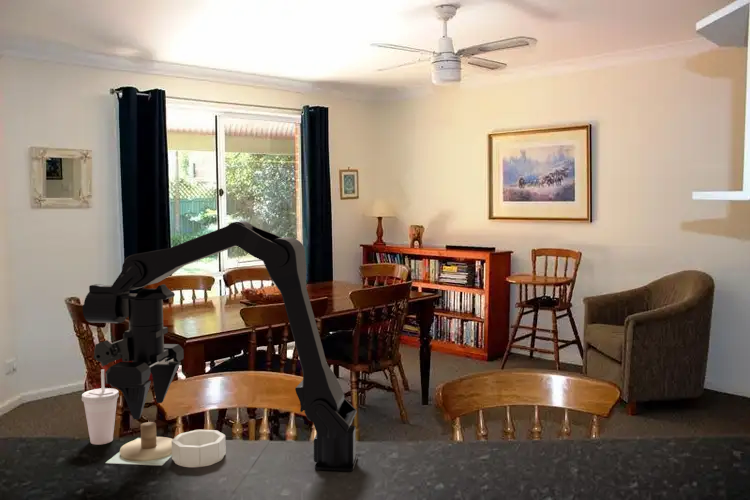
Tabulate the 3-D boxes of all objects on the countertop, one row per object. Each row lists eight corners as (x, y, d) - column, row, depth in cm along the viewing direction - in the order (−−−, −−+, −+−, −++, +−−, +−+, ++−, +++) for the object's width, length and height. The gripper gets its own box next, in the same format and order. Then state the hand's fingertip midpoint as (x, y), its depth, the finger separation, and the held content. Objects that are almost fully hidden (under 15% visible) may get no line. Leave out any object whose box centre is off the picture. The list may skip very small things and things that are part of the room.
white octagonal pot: (230, 452, 118) (230, 430, 117) (214, 471, 109) (214, 447, 109) (185, 450, 118) (184, 429, 118) (165, 469, 110) (165, 446, 110)
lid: (185, 441, 121) (184, 416, 121) (163, 462, 112) (162, 435, 111) (135, 440, 122) (135, 414, 122) (109, 460, 112) (109, 433, 112)
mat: (188, 442, 122) (188, 439, 122) (161, 468, 110) (161, 465, 110) (137, 440, 123) (137, 437, 123) (105, 466, 111) (105, 462, 111)
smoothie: (111, 450, 119) (109, 374, 118) (76, 449, 119) (74, 374, 118) (125, 437, 125) (123, 365, 124) (92, 437, 125) (90, 365, 124)
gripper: (127, 314, 125) (129, 394, 126) (73, 333, 107) (76, 427, 108) (183, 315, 124) (185, 395, 125) (138, 334, 106) (141, 429, 107)
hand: (148, 410), depth 116 cm, fingers open, 9 cm apart
